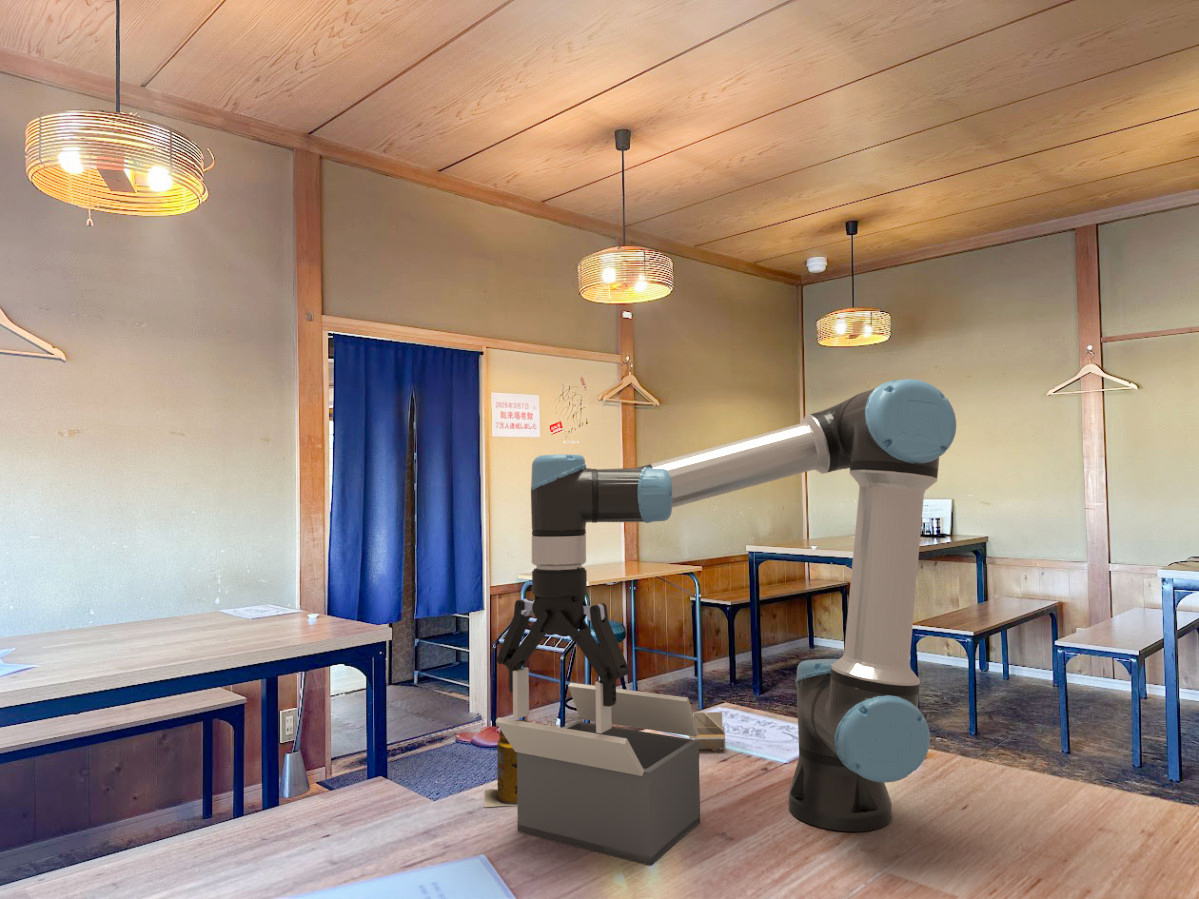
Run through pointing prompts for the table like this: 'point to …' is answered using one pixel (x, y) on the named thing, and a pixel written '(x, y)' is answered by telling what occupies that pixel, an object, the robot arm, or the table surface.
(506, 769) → the condiment
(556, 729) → the near flap
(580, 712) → the far flap
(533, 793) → the carton
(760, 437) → the robot arm
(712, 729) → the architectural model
